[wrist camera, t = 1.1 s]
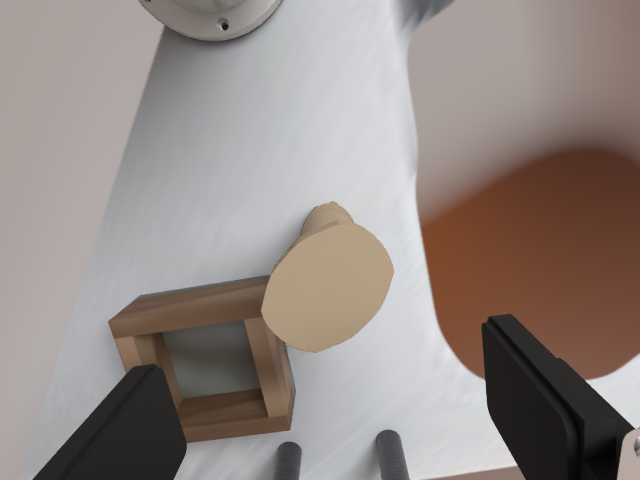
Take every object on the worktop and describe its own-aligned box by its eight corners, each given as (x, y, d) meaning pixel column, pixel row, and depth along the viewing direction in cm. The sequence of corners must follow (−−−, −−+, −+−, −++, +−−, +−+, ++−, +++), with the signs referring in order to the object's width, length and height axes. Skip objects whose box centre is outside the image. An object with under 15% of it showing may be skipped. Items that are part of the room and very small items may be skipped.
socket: (140, 295, 33) (107, 321, 29) (269, 274, 32) (258, 298, 28) (177, 406, 37) (153, 447, 32) (295, 390, 36) (290, 430, 31)
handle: (283, 229, 31) (240, 308, 17) (332, 171, 30) (332, 203, 15) (326, 265, 32) (320, 369, 18) (376, 209, 31) (415, 274, 16)
